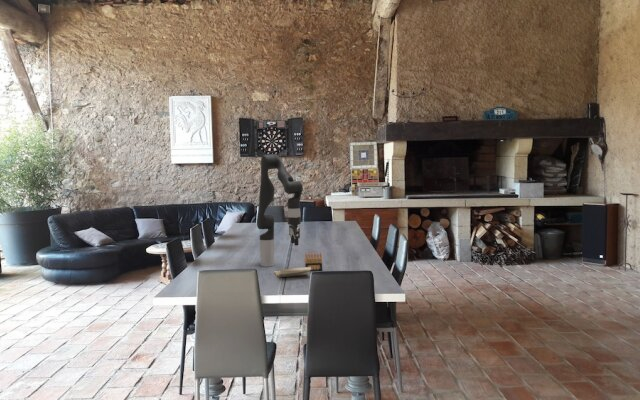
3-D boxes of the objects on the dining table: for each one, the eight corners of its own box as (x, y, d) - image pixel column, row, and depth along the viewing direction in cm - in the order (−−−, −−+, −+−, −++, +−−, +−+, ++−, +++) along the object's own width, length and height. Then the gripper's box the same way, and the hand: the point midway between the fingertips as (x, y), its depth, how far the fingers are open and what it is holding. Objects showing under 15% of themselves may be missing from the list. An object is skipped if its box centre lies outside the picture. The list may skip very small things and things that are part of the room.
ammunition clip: (305, 271, 311) (304, 252, 310) (305, 271, 313) (304, 251, 312) (322, 271, 312) (322, 251, 311) (322, 270, 313) (322, 251, 312)
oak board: (273, 273, 306) (273, 271, 306) (302, 271, 312) (302, 269, 311) (277, 277, 297) (277, 274, 297) (306, 274, 303) (306, 272, 303)
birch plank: (277, 277, 296) (277, 274, 297) (307, 274, 302) (306, 272, 302) (281, 271, 287) (280, 269, 288) (311, 269, 293) (310, 266, 294)
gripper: (284, 215, 297) (285, 242, 298) (291, 217, 283) (291, 246, 284) (296, 214, 299) (297, 242, 300) (303, 217, 286) (304, 245, 287)
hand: (294, 244), depth 292 cm, fingers open, 7 cm apart
